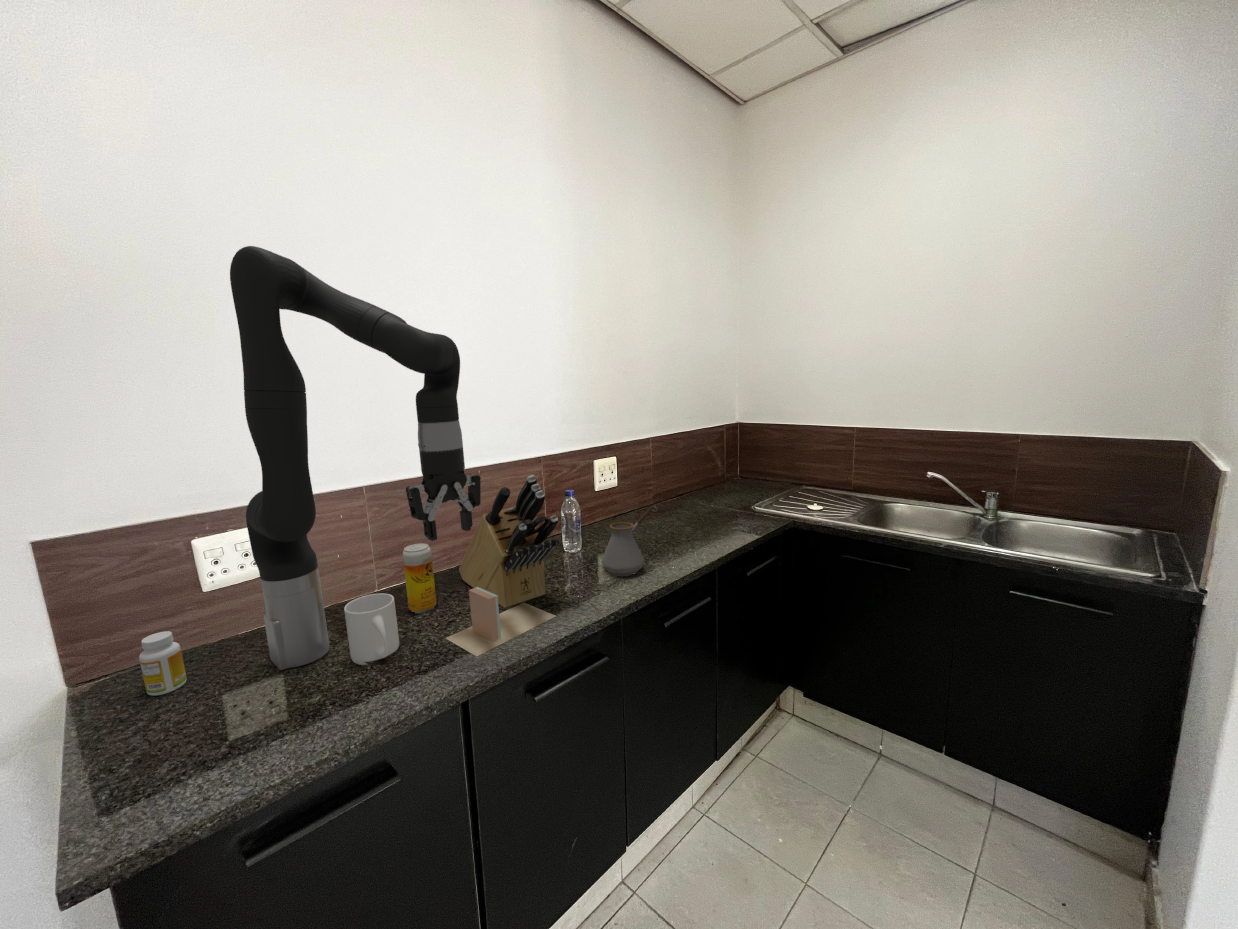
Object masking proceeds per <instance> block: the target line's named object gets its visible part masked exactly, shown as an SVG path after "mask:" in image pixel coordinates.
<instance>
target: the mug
mask: <svg viewBox="0 0 1238 929" xmlns="http://www.w3.org/2000/svg"><path fill="white" fill-rule="evenodd" d="M343 610H344V618H345V625H346V632H347V640H348V645H349V646H348V647H349V654H350V658H351V660H352V661H353V663H354V664H356V665H360V666H369V664H368V663H367V662H374V661H378V660H381V659H384V658H387V657H388V656H390V655H392V654H393V653H395V652H396V651H397V650H398V649H399V647H400V638H399V629H398V619H397V613H396V612H397V611H396V603H395V597H394V596H393V595H392V594H389V593H384V592H383V593H382V592H381V593H372V594H366V595H363V596H360V597H356V598H355V599H353V600H351V601H349V602H348V603H346V604H345V606H344V608H343Z"/></svg>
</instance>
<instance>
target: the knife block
mask: <svg viewBox="0 0 1238 929" xmlns="http://www.w3.org/2000/svg"><path fill="white" fill-rule="evenodd" d="M510 495H511V490H510V488H508V487H505V486H504V487H501V488H500V490H499V491H498V492H497V495H496V497H495V498H494V501H493V503H492V507H491V510H490V511H489V512H488V513H484V514H482V517H481V519H480V521H479V523H478V525H477V527H476V529H475V531H474V534H473V537H472V538H471V539H470V540H471V541H470V543H469V545H468V546H467V549H466V552H465V554H464V556H463V559H462V561H461V563H460V566H459V569H458V571H459V573H460V577H461V578H462V580H463V582H464V583H466V584H467V585H469V586H471V588H472V589H473V588H476V587H479V588H481V589H483V590H486V591H488V592H490V593H493V594H495V595H497V596H498V605H500V606H501V607H503V608H504V609H505V608H510V607H512V606H514V605H515V606H516V605H517V604H518V605H519V604H522V603H525V602H526V601H530V600H532V599H535V598H538V597H541V596H543V595H546V581H545V580H546V579H545V576H546V575H545V562H544V560H545V559H546V558H547V557H548V556H549V555H550V554H551V553H552V551H553V550H554V549H555V548H556V547H557V546H559V543H560V542H559V541H560V540H559V539H555V538H553V539H552V540H547V541H546V539H547V538H548V537H549V536H550V535H551V533H552V532H553V531H554V530H555V528H556V527H557V526H558V523H559V518H558V516H557V515H556V514H553V515H552V516H550V517H549V518H548V517H547V516H546V515H542V516H538V517H537V515H538V514H539V512H540V511H541V509H542V507H543V505H544V503H545V501H546V500H545V499H546V493H545V492H544V491H543V490H542V487H541V485H540V484H539V483H538V479H537V477H536V475H535V474H530V475H528V476H526V481H525V483H524V484H523V486H522V488H521V490H520V491H519V494H518V496H517V499H516V503H515V505H514V506H512V507H508V508H505V509H503V508H504V506H505V505H506V502H507V501H508V500H509V498H510ZM536 517H537V518H536ZM535 518H536V519H535ZM542 522H543V523H542ZM540 523H542V525H540V526H539V524H540ZM537 526H539V527H537Z"/></svg>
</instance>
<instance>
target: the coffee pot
mask: <svg viewBox="0 0 1238 929" xmlns="http://www.w3.org/2000/svg"><path fill="white" fill-rule="evenodd" d="M654 508H655V509H656V510H653V509H654ZM657 511H658V508H657V507H656V506H655V505H653V504H652V505H651V506H650V507H649V508H647V510H646V511H645V512H644V513H642V515H641V516H640V517H639V518H638V519H637V521H636V523H635V524H633V523H632V522H628V521H617V522H614V523H613V522H612V523H610V525H609V529H611V532H612V533H611V535H610V538H609V541H608V544H607V546H606V548H605V552H604V554H603V556H602V559H601V564H602V566H603V569H605V570H606V571H607V572H609V574H610V575H611V576H616V577H628V576H627V575H630V576H632V575H631V574H633V573H635V574H636V573H637V572H638V571H640V569H642V567H643V565H644V563H645V559H644V556H643V554H642V552H641V550H640V547H639V546H638V544H637V541H636V539H635V538H634V535H633V531H634V530H635V529H636V528H637V526H639V525H640V524H641V523H642V522H643V521H644V520H645V519H646V518H647V517H648V515H649V513H651V512H657ZM633 575H634V574H633Z"/></svg>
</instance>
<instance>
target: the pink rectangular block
mask: <svg viewBox="0 0 1238 929" xmlns="http://www.w3.org/2000/svg"><path fill="white" fill-rule="evenodd" d="M468 594H469V595H468V597H469V606H470V608H469V609H470V616H471V617H470V618H471V626H472V630H473V632H475V633H477V634H479V635H481V636H483V637H485V638H486V639H488V640H490V641H492V642H493V641H495V640H497V639H500V638H501V631H500V618H499V614H500V609H499V604H498V596H497V595H495V594H493V593H490V592H488V591H486V590H483V589H481V588H479V587H476V588H473V587H472V588H471V589H468Z"/></svg>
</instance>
